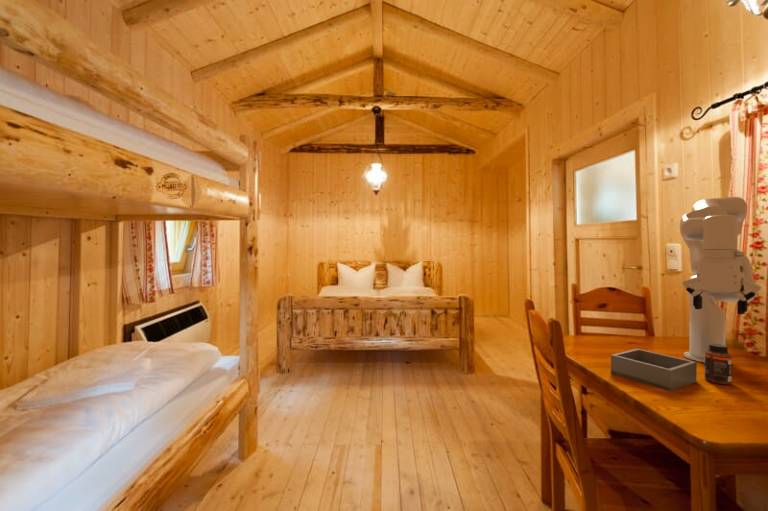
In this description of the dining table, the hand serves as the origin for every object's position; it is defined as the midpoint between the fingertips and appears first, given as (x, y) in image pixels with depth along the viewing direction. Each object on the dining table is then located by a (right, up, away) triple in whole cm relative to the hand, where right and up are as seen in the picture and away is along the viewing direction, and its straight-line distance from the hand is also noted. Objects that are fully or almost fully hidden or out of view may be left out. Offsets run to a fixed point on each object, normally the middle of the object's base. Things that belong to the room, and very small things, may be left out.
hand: (718, 311), depth 101 cm
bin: (-17, -22, +4) cm, 28 cm away
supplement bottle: (0, -22, 0) cm, 22 cm away
